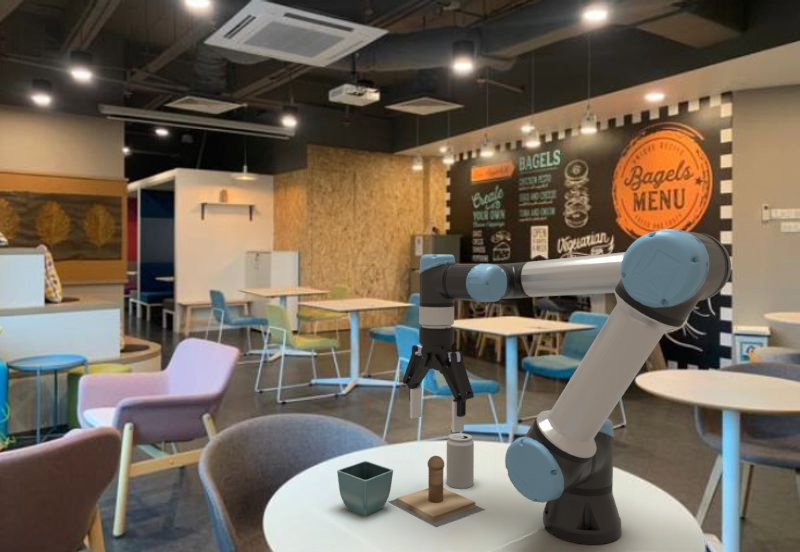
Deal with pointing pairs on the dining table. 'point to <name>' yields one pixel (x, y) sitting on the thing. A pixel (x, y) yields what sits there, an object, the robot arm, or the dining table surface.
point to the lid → (435, 496)
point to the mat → (443, 521)
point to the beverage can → (460, 461)
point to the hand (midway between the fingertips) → (435, 424)
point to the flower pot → (365, 487)
